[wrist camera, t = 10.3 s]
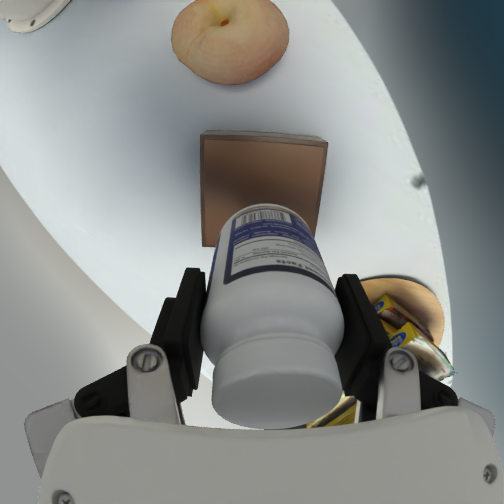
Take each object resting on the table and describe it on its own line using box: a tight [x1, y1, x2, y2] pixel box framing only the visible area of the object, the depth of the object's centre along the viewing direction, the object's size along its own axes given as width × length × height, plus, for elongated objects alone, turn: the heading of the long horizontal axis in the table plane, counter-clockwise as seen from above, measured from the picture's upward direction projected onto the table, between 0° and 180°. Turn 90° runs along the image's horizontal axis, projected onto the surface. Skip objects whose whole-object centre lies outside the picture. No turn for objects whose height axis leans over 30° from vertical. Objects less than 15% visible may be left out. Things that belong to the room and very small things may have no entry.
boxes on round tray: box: [306, 278, 456, 428], centre depth 30 cm, size 25×25×17 cm
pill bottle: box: [200, 204, 344, 429], centre depth 12 cm, size 5×5×10 cm
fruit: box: [171, 0, 289, 85], centre depth 15 cm, size 8×8×8 cm
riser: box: [200, 130, 328, 247], centre depth 24 cm, size 10×10×4 cm
